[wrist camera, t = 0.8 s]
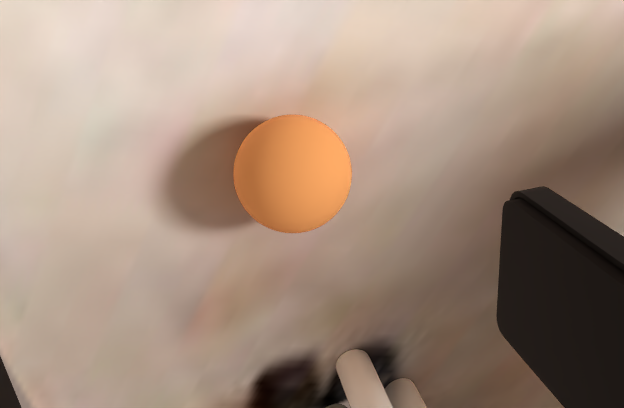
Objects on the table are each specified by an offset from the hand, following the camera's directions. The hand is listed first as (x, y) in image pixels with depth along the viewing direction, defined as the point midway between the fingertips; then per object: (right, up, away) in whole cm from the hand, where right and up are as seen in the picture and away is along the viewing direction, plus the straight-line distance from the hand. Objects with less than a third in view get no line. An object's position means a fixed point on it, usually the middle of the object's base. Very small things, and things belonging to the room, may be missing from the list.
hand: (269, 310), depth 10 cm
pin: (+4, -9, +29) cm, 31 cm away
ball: (0, +3, +19) cm, 19 cm away
